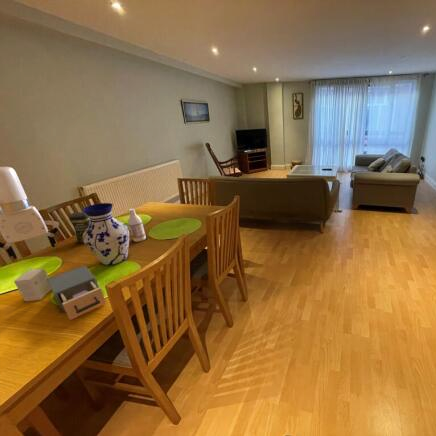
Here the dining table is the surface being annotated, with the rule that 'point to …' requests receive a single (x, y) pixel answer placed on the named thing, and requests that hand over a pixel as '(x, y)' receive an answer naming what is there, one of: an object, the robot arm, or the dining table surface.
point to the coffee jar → (79, 224)
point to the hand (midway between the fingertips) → (35, 251)
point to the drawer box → (70, 281)
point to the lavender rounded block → (79, 294)
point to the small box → (33, 284)
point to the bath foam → (136, 227)
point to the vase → (106, 235)
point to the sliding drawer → (82, 299)
